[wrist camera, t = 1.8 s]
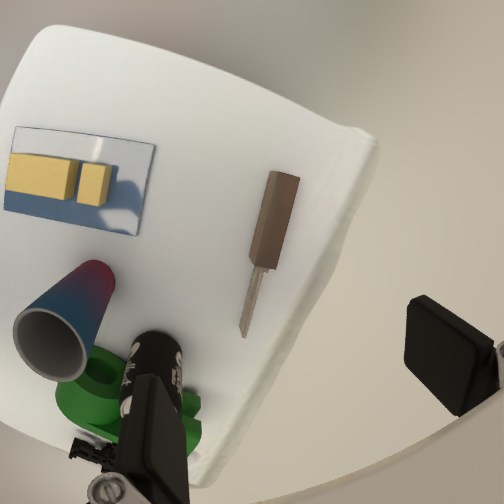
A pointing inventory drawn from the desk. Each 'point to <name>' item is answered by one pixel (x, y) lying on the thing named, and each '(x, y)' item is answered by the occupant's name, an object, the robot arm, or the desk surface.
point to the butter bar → (42, 175)
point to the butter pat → (94, 184)
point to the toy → (95, 454)
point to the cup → (65, 322)
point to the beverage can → (153, 367)
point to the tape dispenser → (112, 399)
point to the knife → (269, 235)
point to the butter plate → (86, 151)
